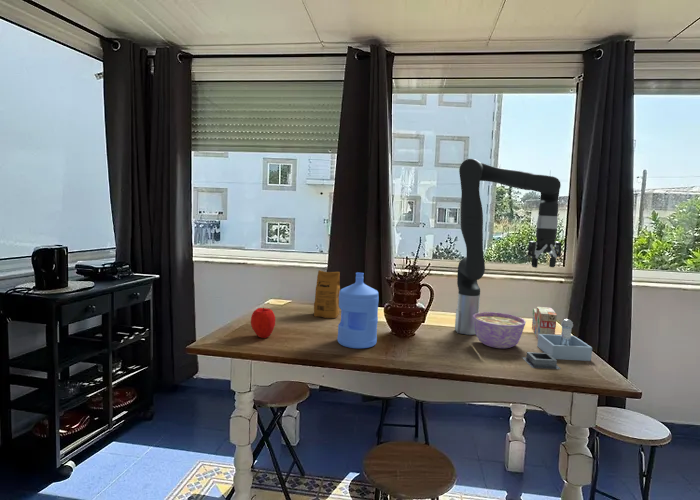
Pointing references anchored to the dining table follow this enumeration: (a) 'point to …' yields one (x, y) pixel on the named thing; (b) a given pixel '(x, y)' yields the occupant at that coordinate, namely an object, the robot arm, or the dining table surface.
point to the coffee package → (327, 295)
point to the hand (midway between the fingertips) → (543, 267)
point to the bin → (564, 348)
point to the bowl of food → (498, 329)
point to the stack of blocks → (544, 321)
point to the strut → (566, 332)
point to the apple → (263, 322)
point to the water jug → (358, 315)
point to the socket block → (541, 360)
